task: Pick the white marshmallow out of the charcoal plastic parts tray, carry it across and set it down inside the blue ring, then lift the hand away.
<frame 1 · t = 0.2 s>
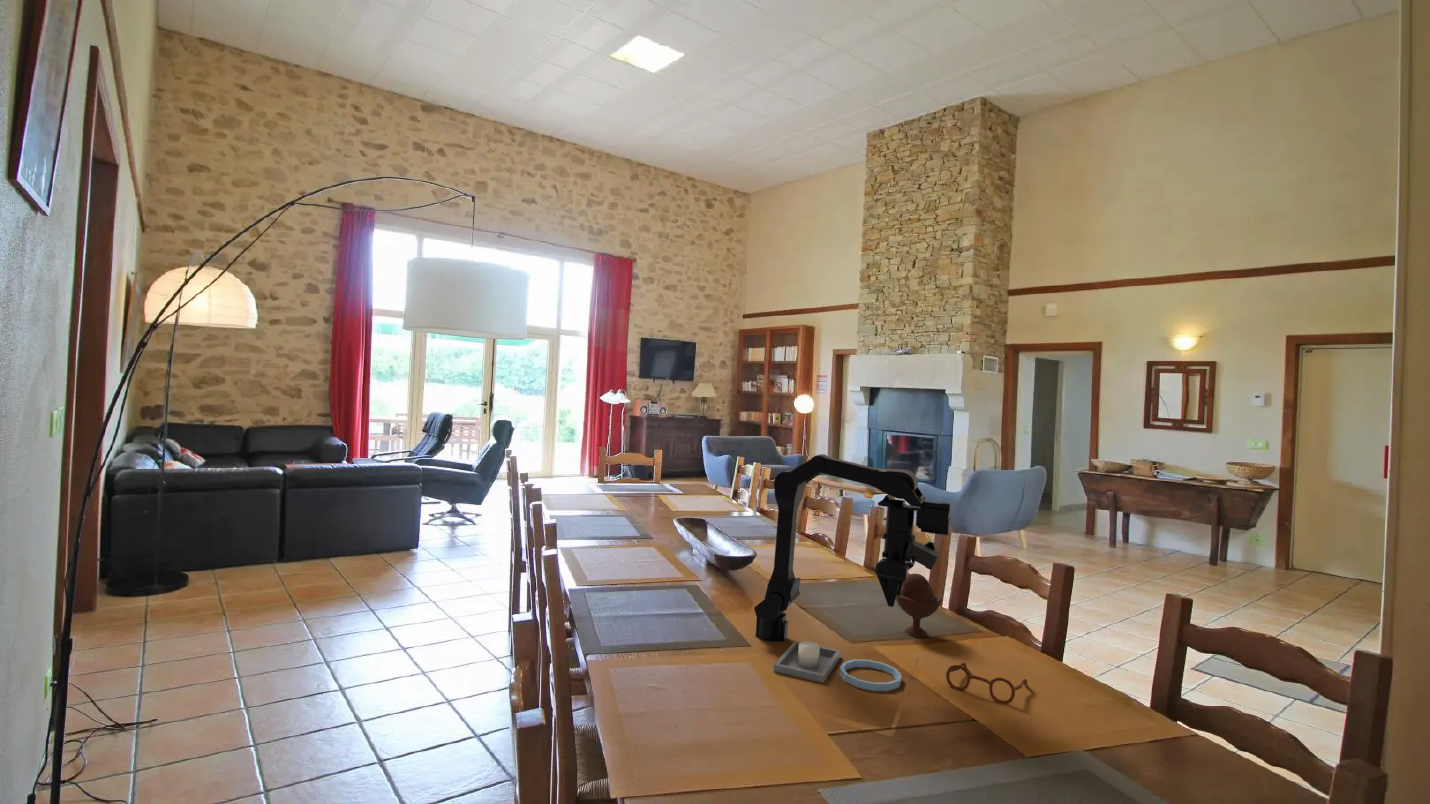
hand: (893, 600, 147), 14 cm above the table, tool pointing down, fingers open, 9 cm apart
glasses: (987, 688, 141), on the table
ice cream bowl: (915, 634, 169), on the table
blue ring: (869, 681, 139), on the table
parts tray: (807, 667, 144), on the table
white marshmallow: (808, 664, 144), point 1 cm above the table, touching parts tray
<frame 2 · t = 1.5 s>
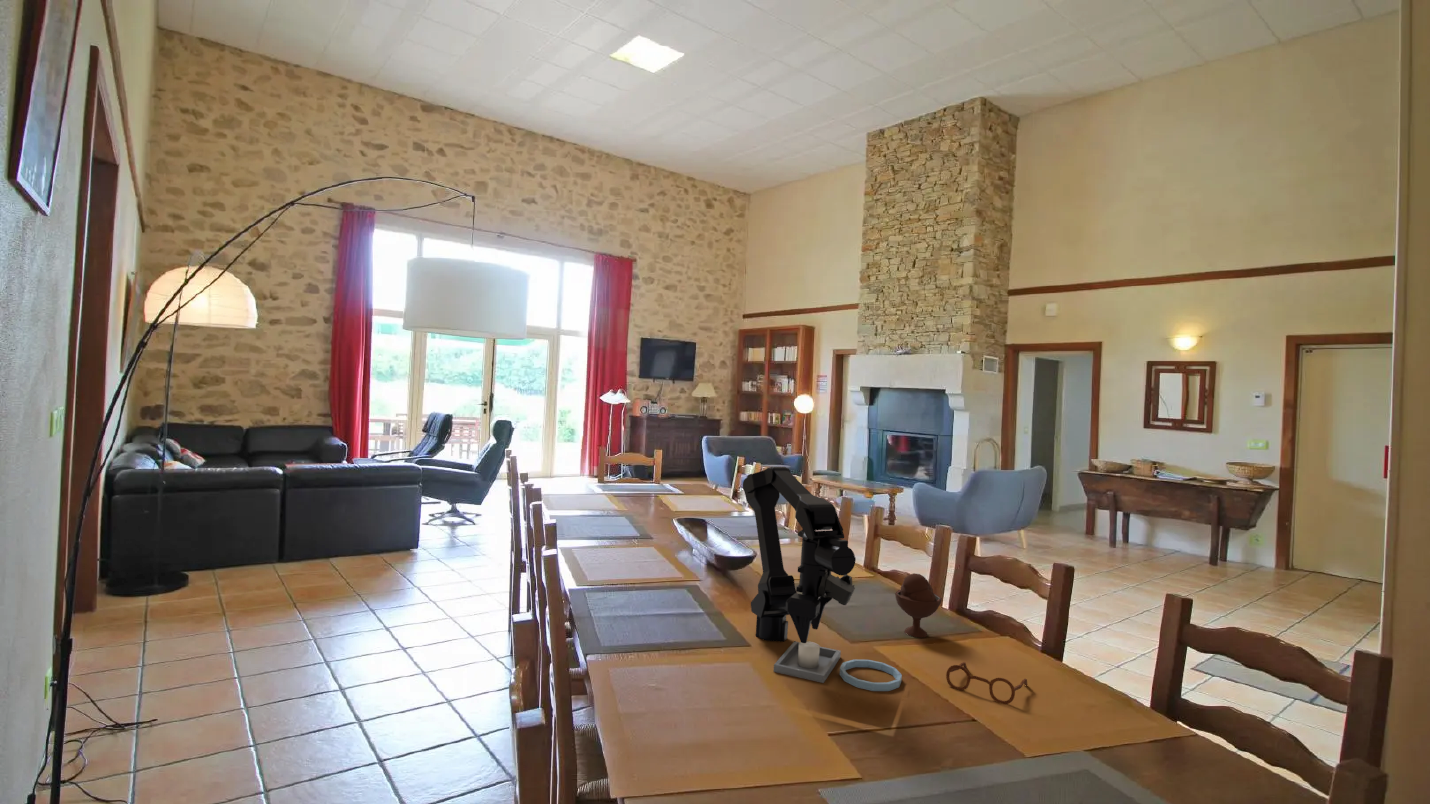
hand: (809, 635, 144), 7 cm above the table, tool pointing down, fingers open, 9 cm apart
nothing on the table moved.
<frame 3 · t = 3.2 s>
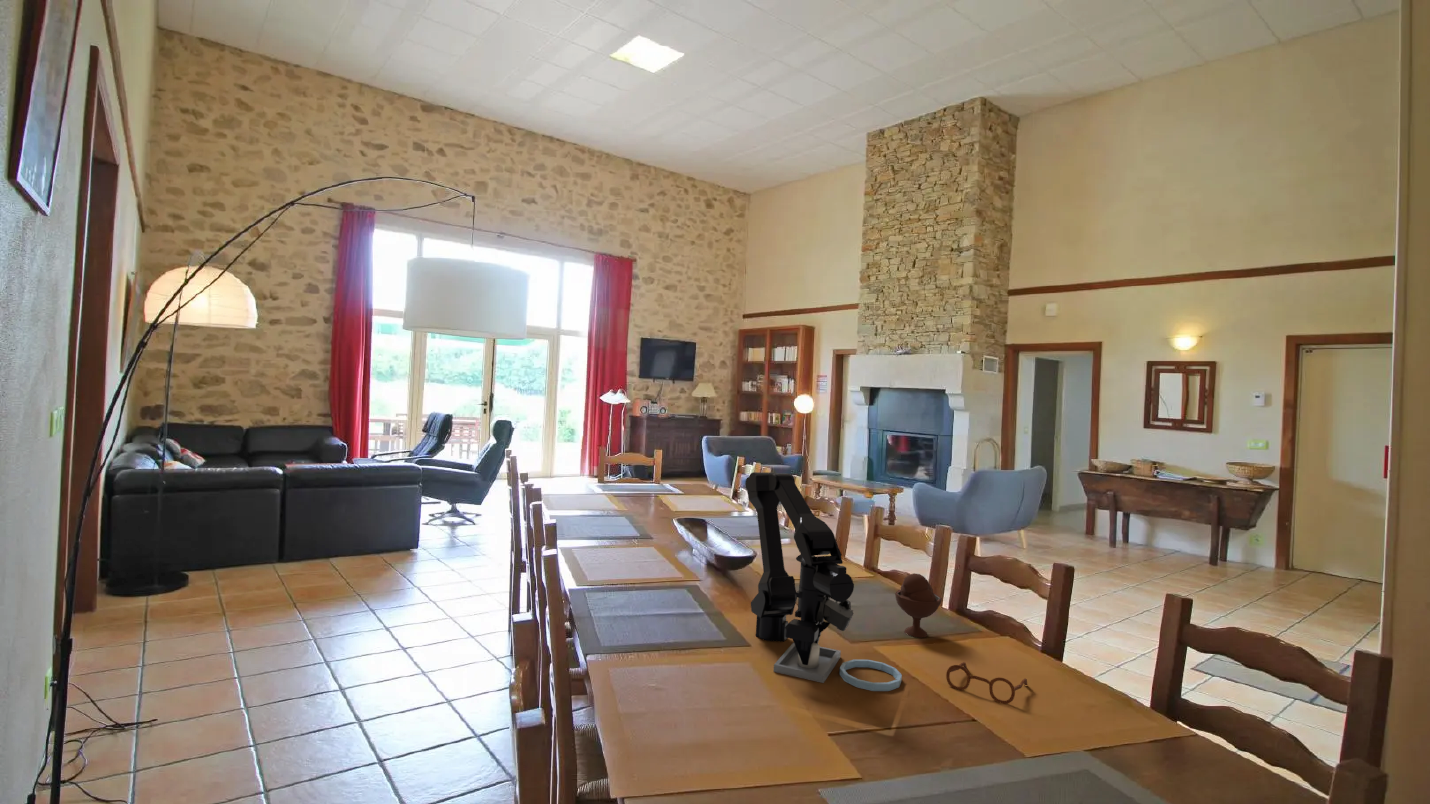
hand: (808, 660, 144), 2 cm above the table, tool pointing down, fingers closed on white marshmallow, 4 cm apart
white marshmallow: (808, 663, 144), point 1 cm above the table, touching gripper, parts tray
everything else where it was.
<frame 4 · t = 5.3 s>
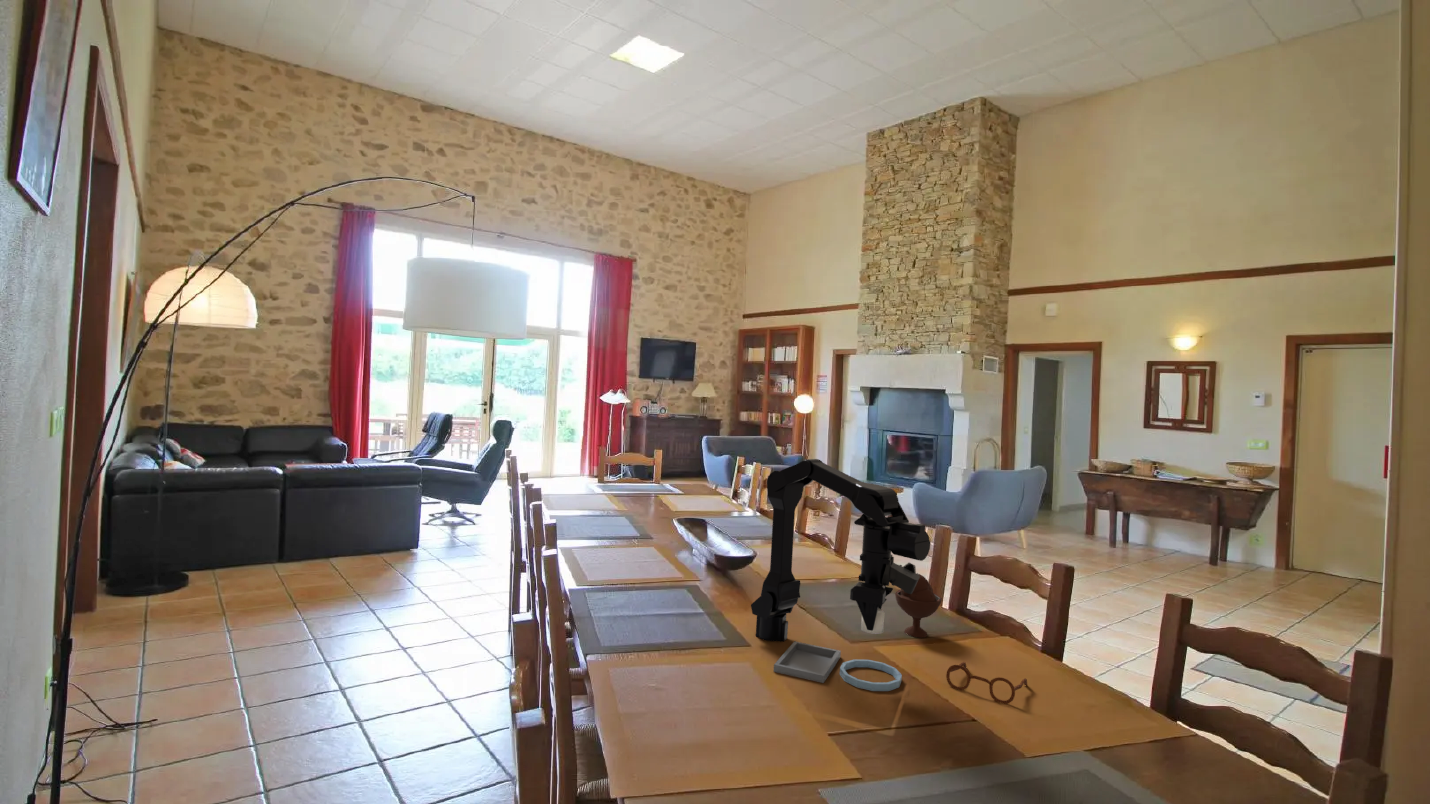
hand: (872, 626, 139), 11 cm above the table, tool pointing down, fingers closed on white marshmallow, 4 cm apart
white marshmallow: (872, 629, 139), point 11 cm above the table, touching gripper
everything else where it was.
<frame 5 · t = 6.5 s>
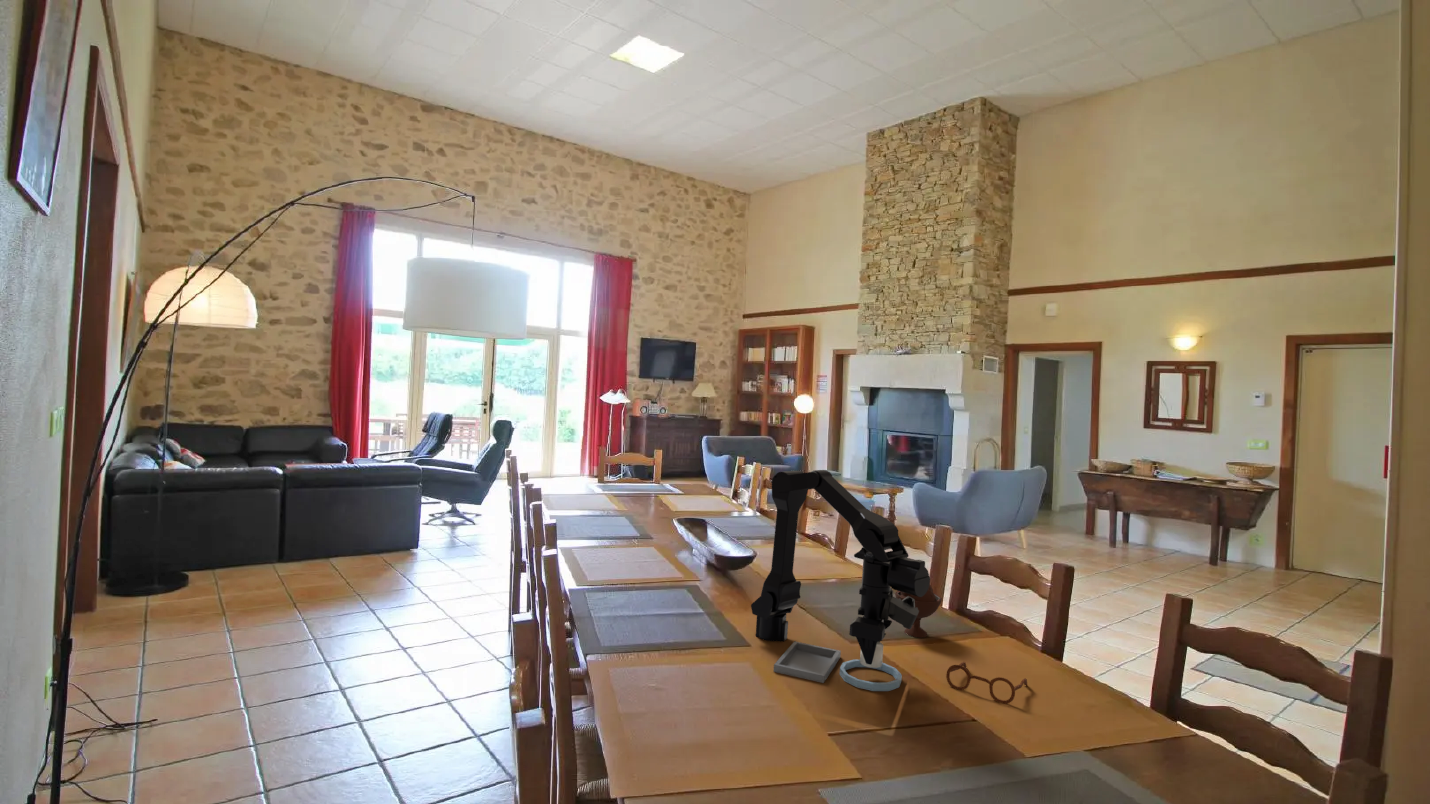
hand: (871, 659, 139), 4 cm above the table, tool pointing down, fingers closed on white marshmallow, 4 cm apart
white marshmallow: (870, 663, 139), point 4 cm above the table, touching gripper
everything else where it was.
when the fingers open (3 cm above the table, at t = 7.6 s): white marshmallow drops 2 cm, resting on blue ring.
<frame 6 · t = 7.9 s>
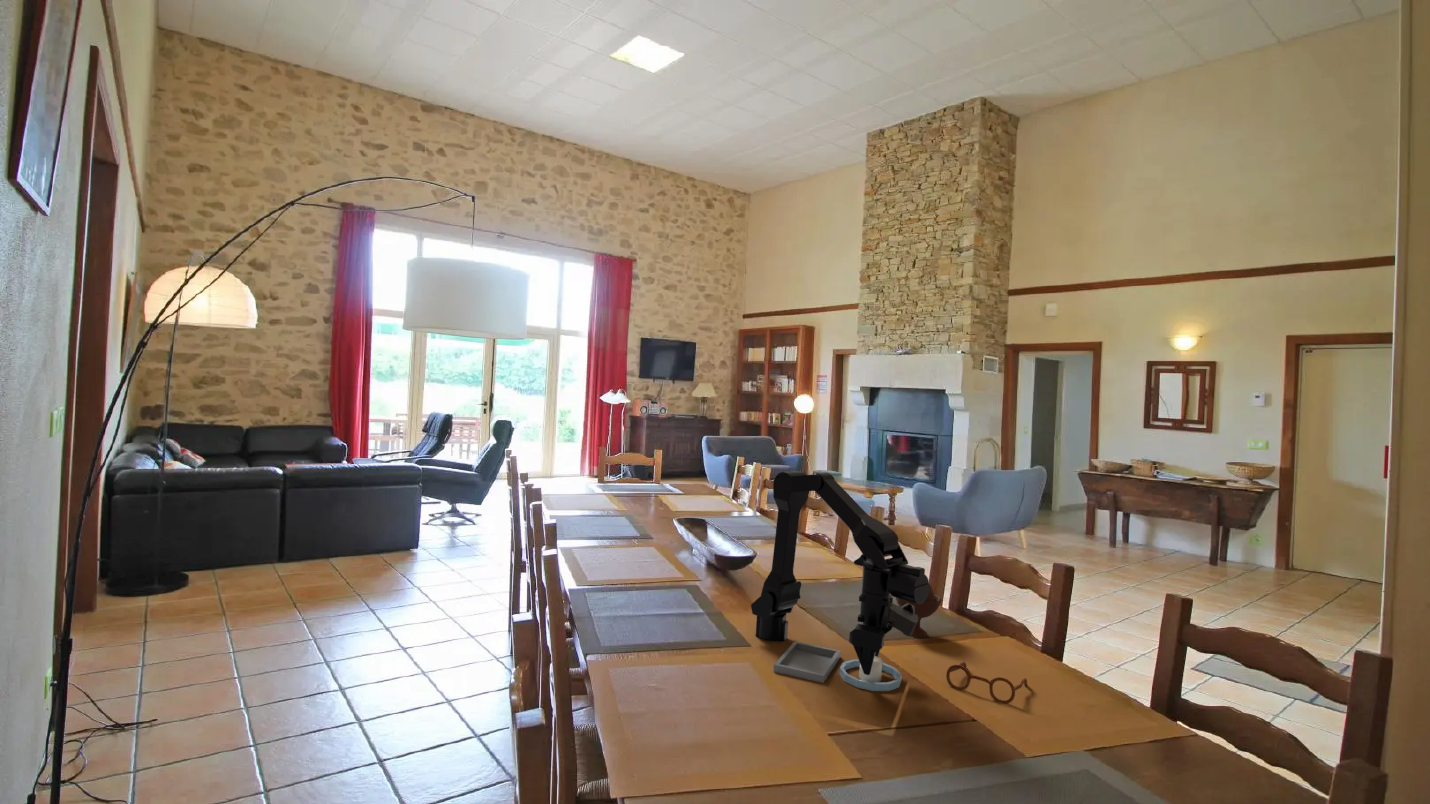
hand: (870, 666, 139), 3 cm above the table, tool pointing down, fingers open, 8 cm apart
white marshmallow: (870, 678, 139), point 1 cm above the table, touching blue ring
everything else where it was.
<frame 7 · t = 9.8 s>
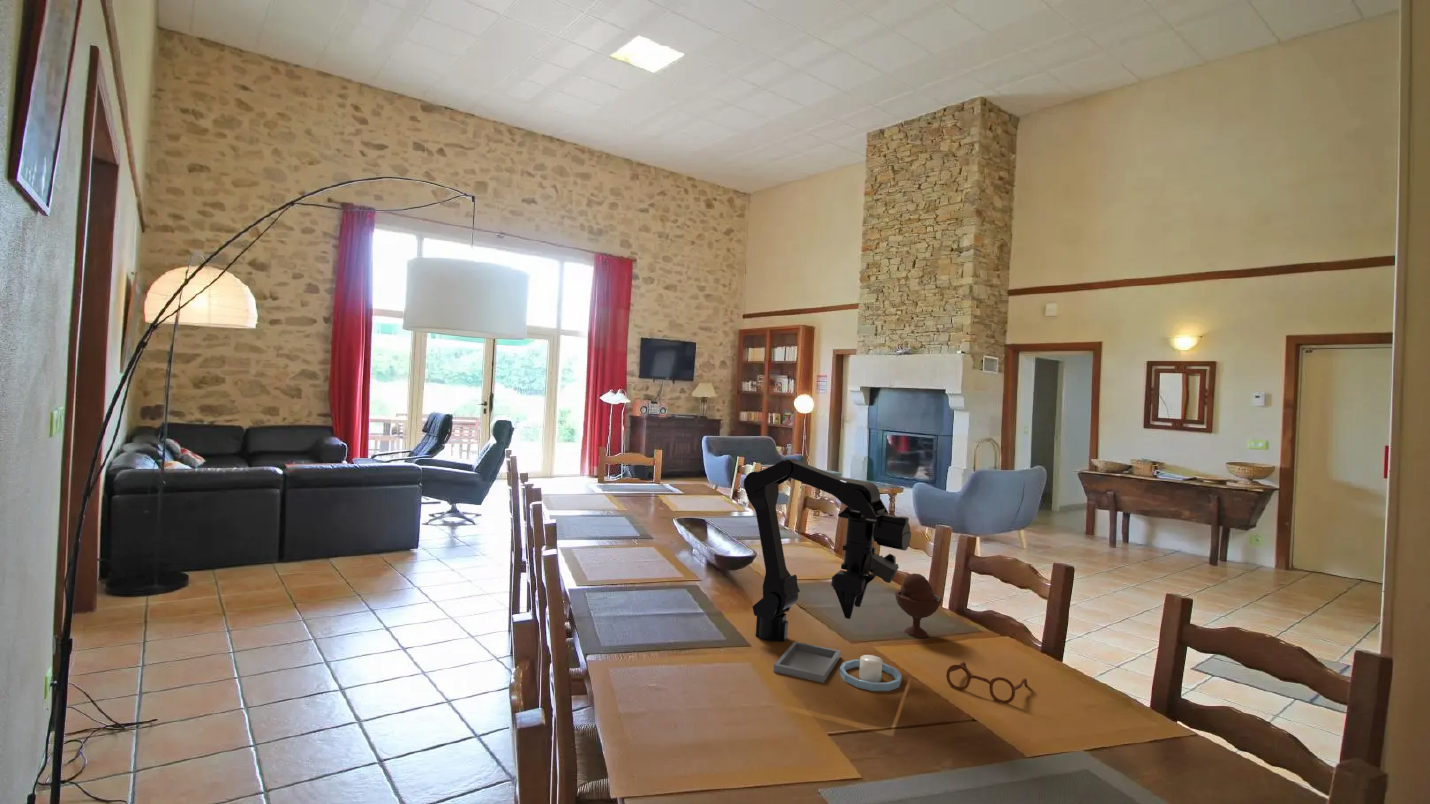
hand: (852, 612, 148), 11 cm above the table, tool pointing down, fingers open, 9 cm apart
nothing on the table moved.
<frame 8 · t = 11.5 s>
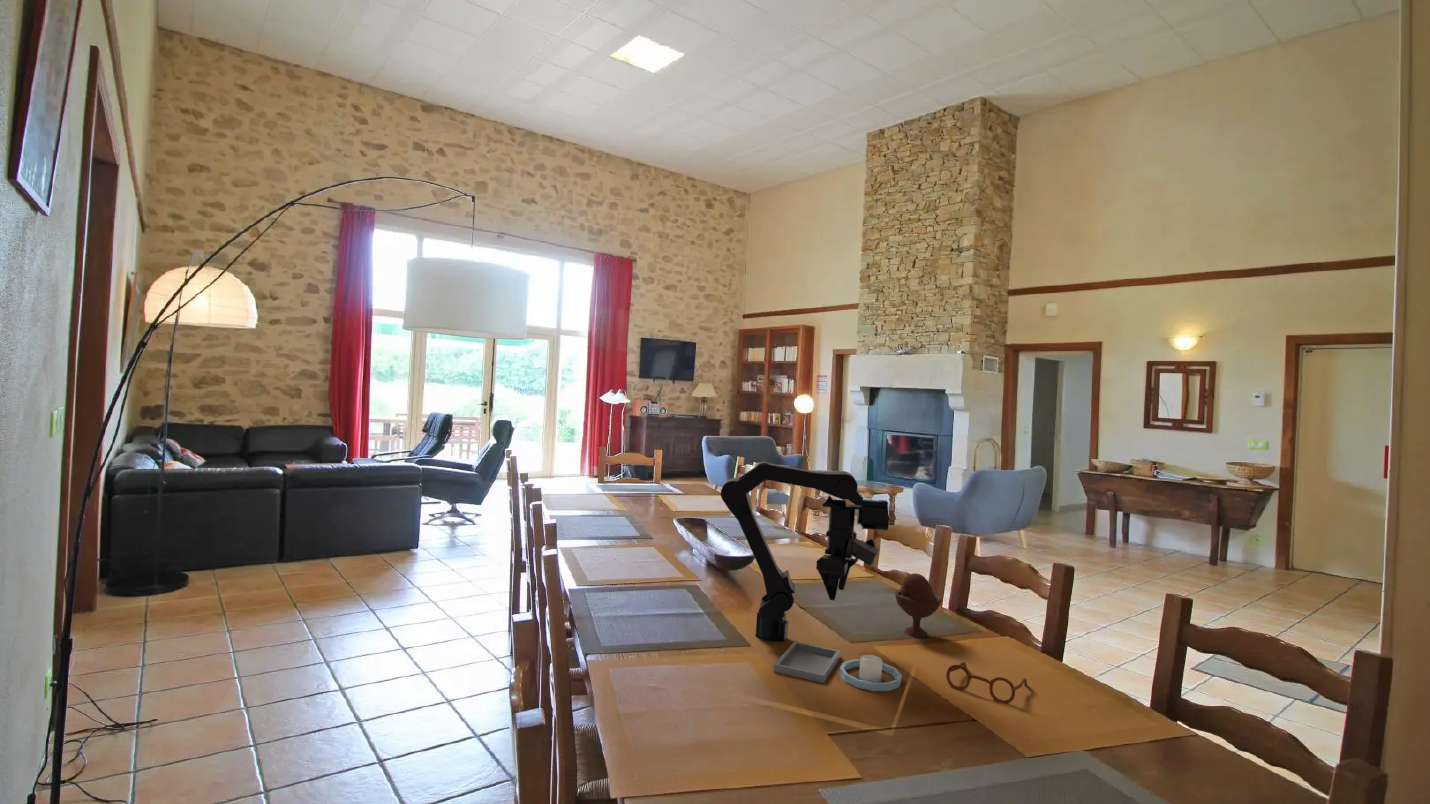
hand: (837, 594, 157), 12 cm above the table, tool pointing down, fingers open, 9 cm apart
nothing on the table moved.
at the end: white marshmallow 0.0 cm off-centre on the blue ring, point 0.6 cm above the blue ring's base; the gripper is holding nothing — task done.
